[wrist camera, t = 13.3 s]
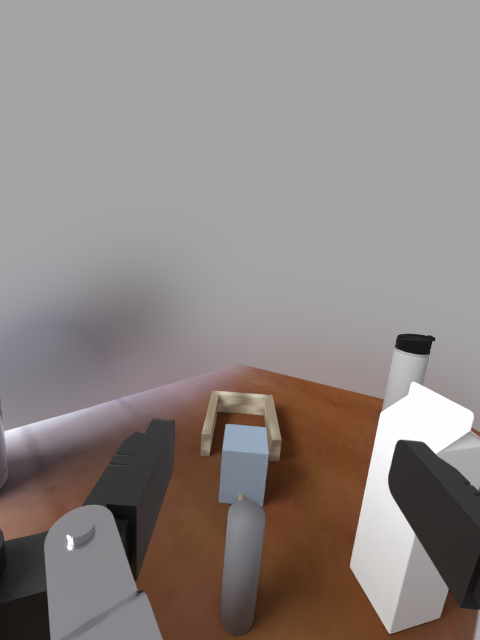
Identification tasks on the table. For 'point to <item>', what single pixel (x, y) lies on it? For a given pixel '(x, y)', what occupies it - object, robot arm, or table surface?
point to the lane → (242, 405)
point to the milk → (389, 522)
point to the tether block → (242, 522)
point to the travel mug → (407, 366)
